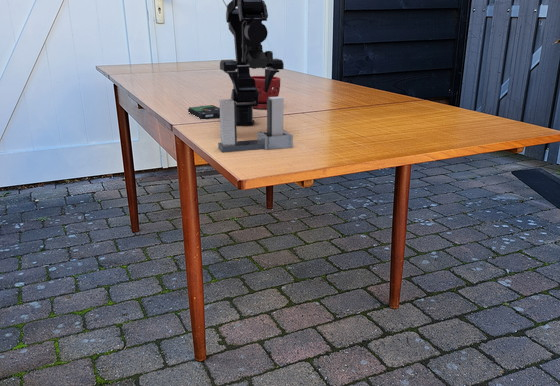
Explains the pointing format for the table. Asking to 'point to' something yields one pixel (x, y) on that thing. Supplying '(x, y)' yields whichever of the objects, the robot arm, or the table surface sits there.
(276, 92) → the plant pot
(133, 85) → the table surface
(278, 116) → the tall grey pillar
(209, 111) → the disk drive
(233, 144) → the grey l-shaped stand
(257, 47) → the robot arm
